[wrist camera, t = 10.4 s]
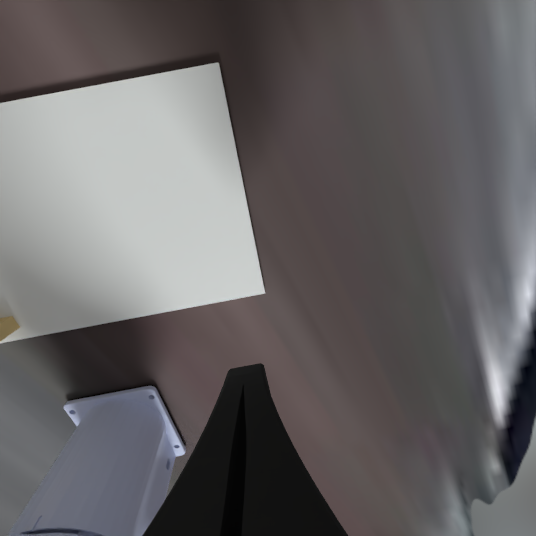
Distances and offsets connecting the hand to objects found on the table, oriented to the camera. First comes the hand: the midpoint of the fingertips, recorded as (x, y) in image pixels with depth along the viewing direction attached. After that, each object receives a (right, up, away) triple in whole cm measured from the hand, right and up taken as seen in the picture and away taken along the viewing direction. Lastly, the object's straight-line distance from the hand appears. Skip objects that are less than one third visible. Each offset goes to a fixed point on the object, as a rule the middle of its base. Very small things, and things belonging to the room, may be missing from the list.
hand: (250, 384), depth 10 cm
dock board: (-16, +6, +6) cm, 19 cm away
